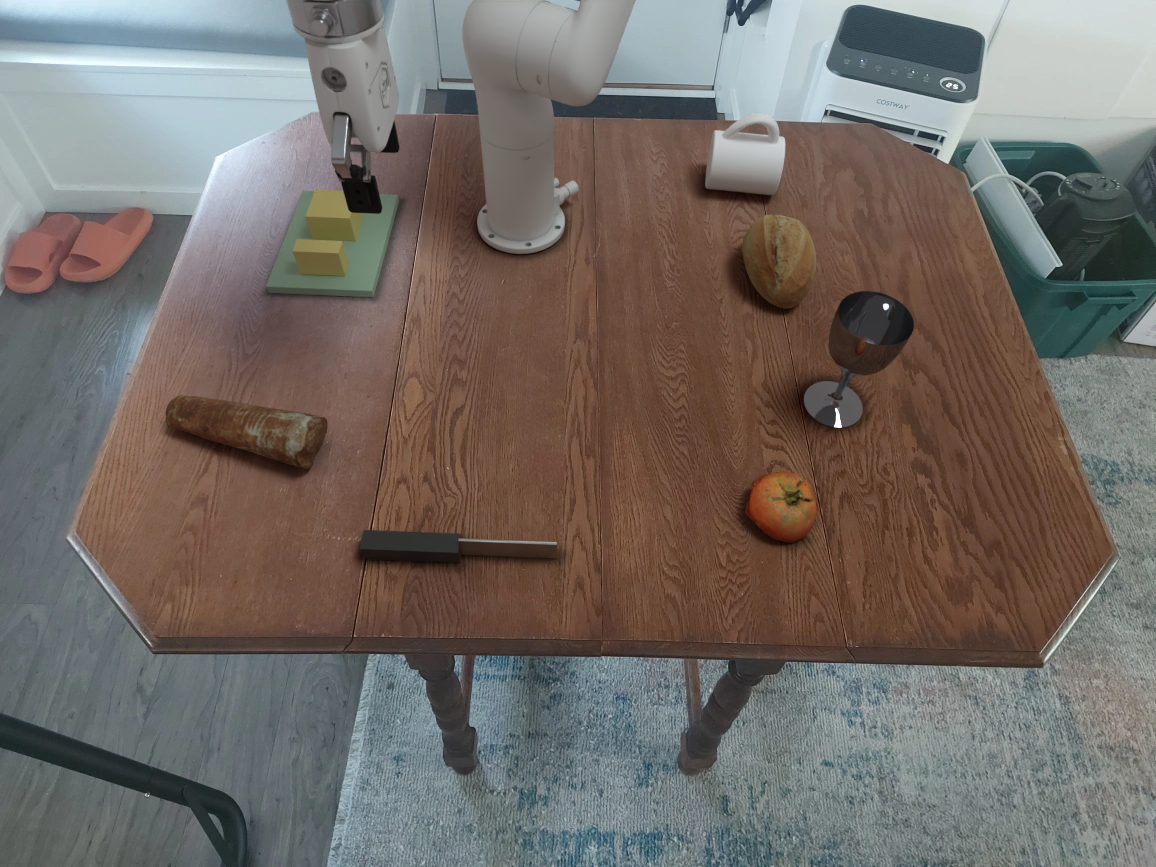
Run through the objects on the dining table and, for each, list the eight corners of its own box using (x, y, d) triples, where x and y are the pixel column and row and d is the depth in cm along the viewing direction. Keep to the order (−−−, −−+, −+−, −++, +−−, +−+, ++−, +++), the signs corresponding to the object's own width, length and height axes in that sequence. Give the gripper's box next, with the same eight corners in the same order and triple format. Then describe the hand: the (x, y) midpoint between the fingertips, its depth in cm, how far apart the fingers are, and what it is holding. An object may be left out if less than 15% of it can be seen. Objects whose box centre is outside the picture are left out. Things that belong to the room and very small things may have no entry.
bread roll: (745, 316, 100) (759, 270, 93) (729, 240, 109) (741, 194, 102) (817, 316, 100) (835, 270, 94) (795, 240, 109) (811, 194, 102)
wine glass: (869, 388, 93) (917, 301, 81) (862, 438, 89) (911, 354, 77) (805, 371, 95) (842, 283, 82) (795, 419, 90) (832, 333, 78)
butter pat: (304, 262, 102) (296, 238, 99) (349, 263, 102) (342, 240, 99) (300, 274, 101) (291, 251, 97) (345, 276, 101) (338, 253, 97)
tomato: (769, 555, 78) (766, 488, 77) (732, 535, 84) (729, 473, 83) (832, 539, 81) (830, 473, 79) (792, 521, 87) (789, 460, 86)
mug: (705, 166, 119) (719, 94, 109) (771, 173, 118) (791, 101, 108) (704, 199, 114) (718, 127, 104) (772, 206, 113) (793, 134, 103)
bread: (313, 480, 84) (298, 453, 79) (164, 436, 87) (142, 407, 82) (340, 436, 87) (328, 407, 83) (195, 395, 90) (176, 365, 86)
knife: (364, 559, 78) (357, 545, 76) (368, 540, 80) (362, 526, 77) (556, 567, 79) (556, 553, 76) (557, 547, 80) (557, 533, 77)
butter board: (304, 197, 112) (295, 167, 108) (399, 201, 112) (393, 171, 108) (268, 293, 100) (255, 263, 96) (373, 297, 100) (365, 268, 96)
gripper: (359, 61, 57) (398, 239, 71) (398, -43, 67) (425, 131, 81) (260, 56, 57) (318, 235, 71) (314, -46, 67) (355, 128, 81)
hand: (375, 180), depth 76 cm, fingers open, 9 cm apart
